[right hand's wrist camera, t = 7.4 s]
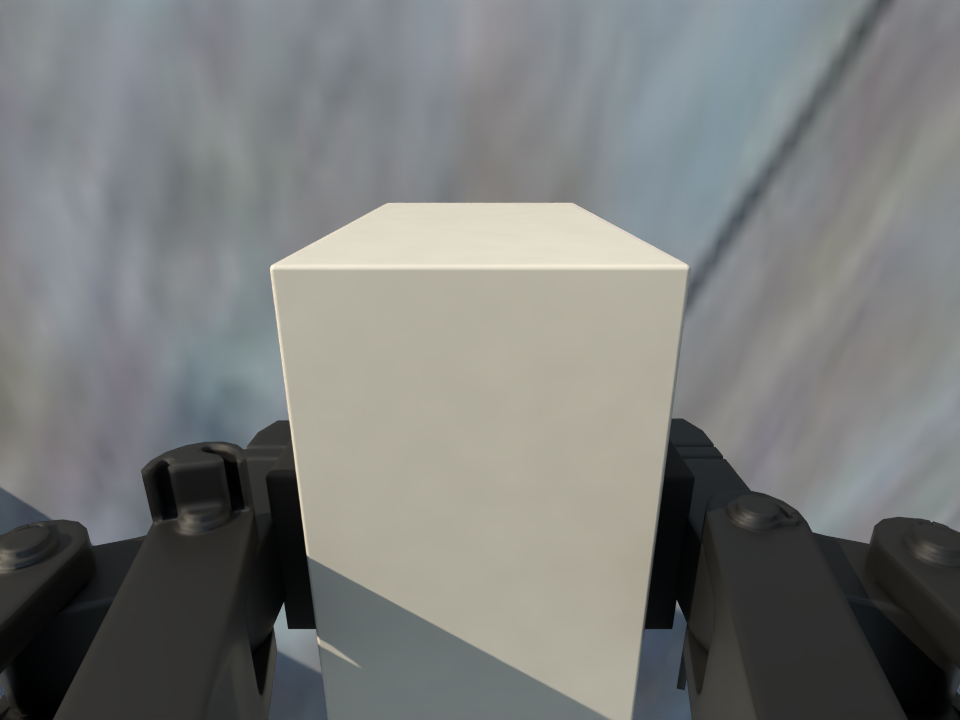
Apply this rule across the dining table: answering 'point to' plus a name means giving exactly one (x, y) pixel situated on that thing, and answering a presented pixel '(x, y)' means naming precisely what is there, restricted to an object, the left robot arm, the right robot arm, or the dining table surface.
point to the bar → (480, 455)
